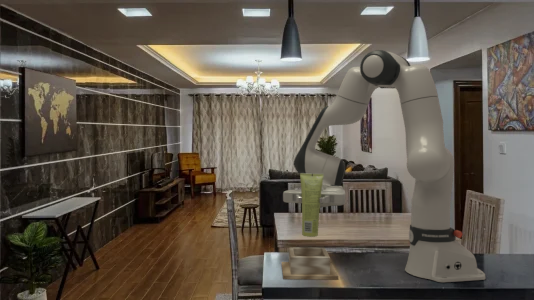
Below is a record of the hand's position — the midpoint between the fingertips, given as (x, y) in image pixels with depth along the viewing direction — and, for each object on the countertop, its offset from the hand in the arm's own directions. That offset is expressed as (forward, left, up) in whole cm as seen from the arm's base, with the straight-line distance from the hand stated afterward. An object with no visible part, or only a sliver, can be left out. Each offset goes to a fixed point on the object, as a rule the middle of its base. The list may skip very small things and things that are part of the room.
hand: (310, 200), depth 133 cm
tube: (0, -1, -11) cm, 11 cm away
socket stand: (+1, +2, -22) cm, 22 cm away
